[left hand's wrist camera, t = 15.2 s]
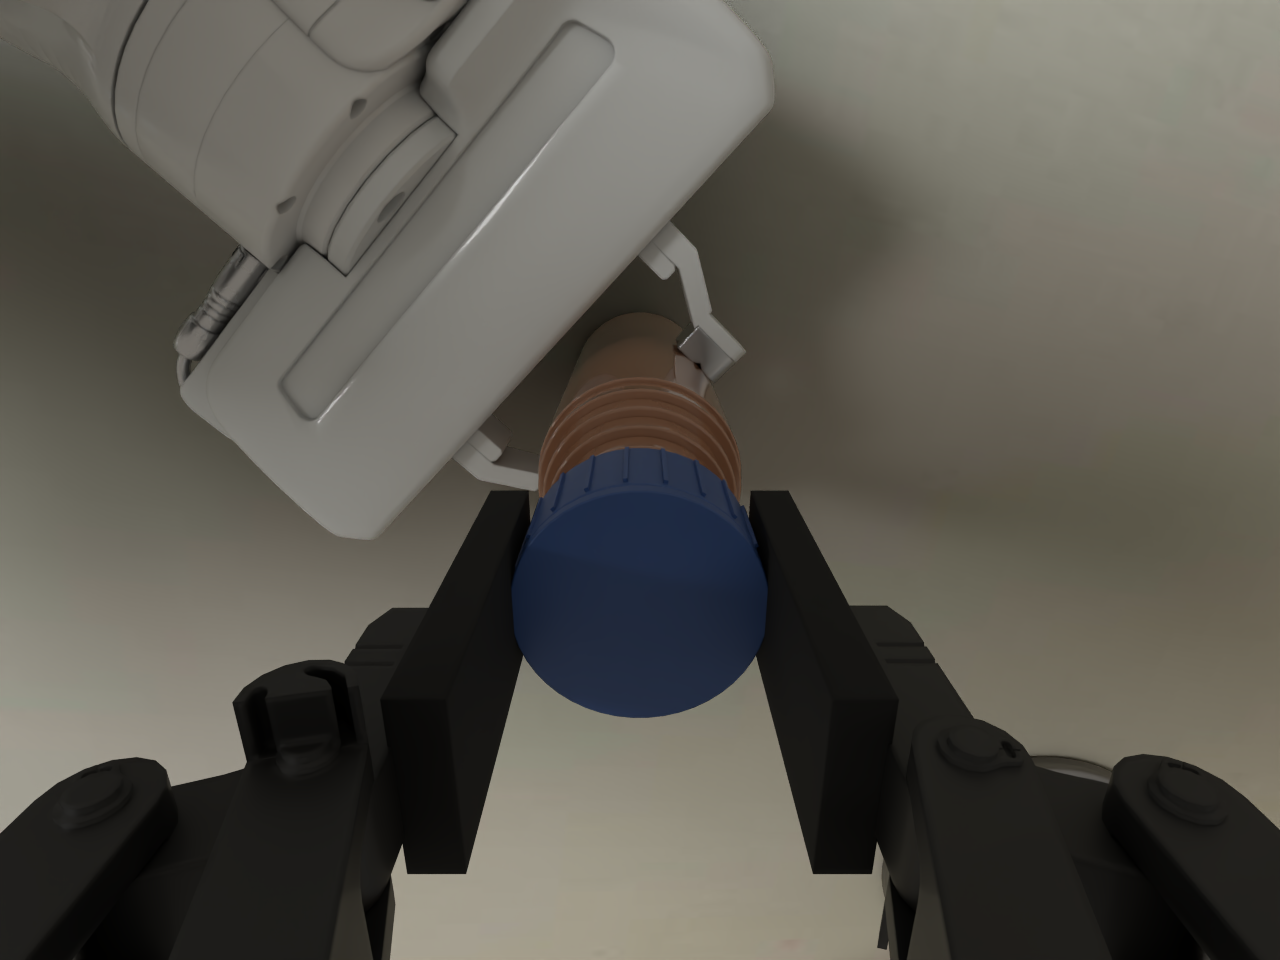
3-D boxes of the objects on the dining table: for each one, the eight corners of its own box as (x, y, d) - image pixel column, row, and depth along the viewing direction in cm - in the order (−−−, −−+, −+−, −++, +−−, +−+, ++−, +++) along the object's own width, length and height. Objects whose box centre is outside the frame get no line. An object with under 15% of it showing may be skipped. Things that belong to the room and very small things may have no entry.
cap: (573, 673, 16) (562, 748, 13) (489, 486, 14) (462, 536, 12) (777, 613, 15) (801, 682, 13) (715, 412, 14) (729, 451, 11)
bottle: (594, 296, 29) (528, 420, 12) (719, 332, 30) (831, 503, 12) (563, 417, 31) (466, 680, 14) (681, 449, 32) (732, 743, 14)
